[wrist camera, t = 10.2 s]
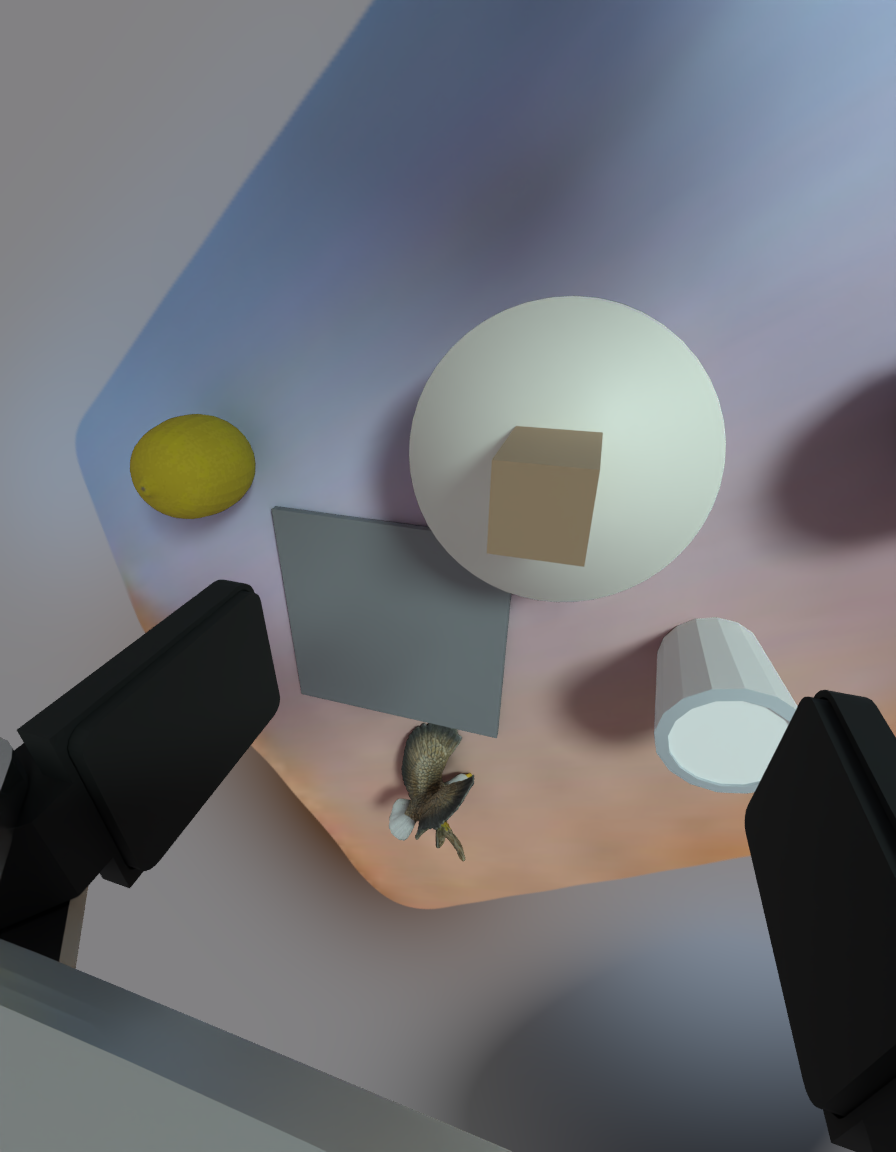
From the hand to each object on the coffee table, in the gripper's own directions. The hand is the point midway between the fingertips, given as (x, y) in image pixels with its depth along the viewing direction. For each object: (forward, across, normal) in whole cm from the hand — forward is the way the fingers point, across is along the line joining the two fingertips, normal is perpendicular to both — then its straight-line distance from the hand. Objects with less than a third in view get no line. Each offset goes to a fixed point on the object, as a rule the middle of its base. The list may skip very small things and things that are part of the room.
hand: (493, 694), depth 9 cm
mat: (+20, +10, +15) cm, 27 cm away
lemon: (+20, +20, +3) cm, 29 cm away
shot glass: (+20, -10, +13) cm, 26 cm away
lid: (+15, 0, +1) cm, 15 cm away
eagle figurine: (+20, +6, +28) cm, 35 cm away
